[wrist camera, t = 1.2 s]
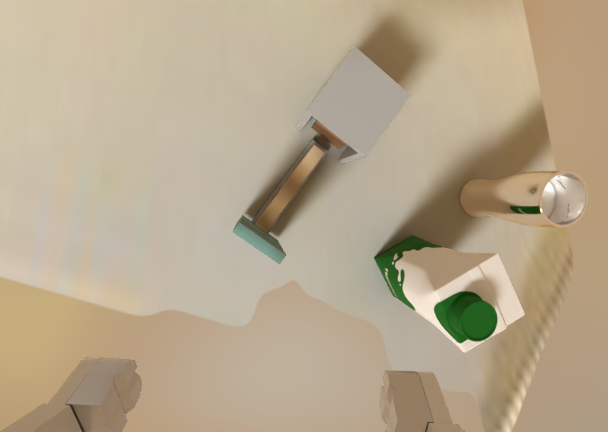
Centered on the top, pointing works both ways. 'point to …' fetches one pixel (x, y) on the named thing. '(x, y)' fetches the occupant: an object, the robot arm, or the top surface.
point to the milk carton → (452, 289)
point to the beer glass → (529, 198)
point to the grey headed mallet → (351, 112)
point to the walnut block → (328, 135)
